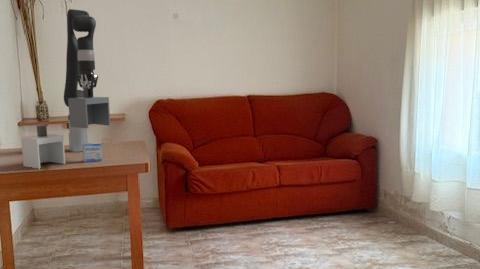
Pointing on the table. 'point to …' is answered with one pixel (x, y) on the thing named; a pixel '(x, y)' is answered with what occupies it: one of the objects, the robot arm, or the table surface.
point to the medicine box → (92, 152)
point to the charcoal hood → (88, 110)
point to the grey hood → (42, 148)
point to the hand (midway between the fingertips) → (88, 96)
